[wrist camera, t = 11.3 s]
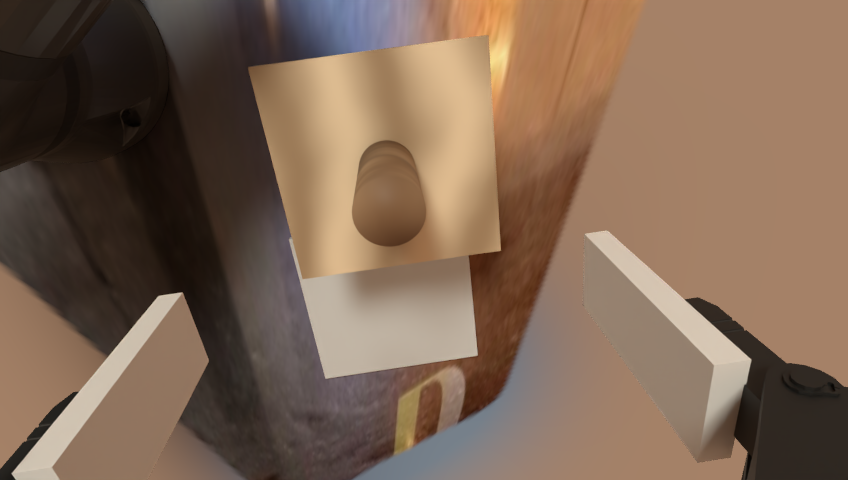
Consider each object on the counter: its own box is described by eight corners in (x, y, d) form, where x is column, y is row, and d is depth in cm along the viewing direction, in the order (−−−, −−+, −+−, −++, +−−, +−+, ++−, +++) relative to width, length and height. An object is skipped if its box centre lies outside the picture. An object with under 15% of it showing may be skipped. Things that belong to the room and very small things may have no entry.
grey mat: (325, 376, 49) (325, 378, 49) (289, 237, 43) (288, 239, 42) (477, 353, 50) (477, 355, 50) (464, 212, 43) (464, 214, 43)
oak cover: (304, 272, 34) (280, 350, 26) (251, 66, 28) (199, 82, 20) (497, 244, 34) (534, 312, 26) (484, 35, 28) (527, 38, 20)
